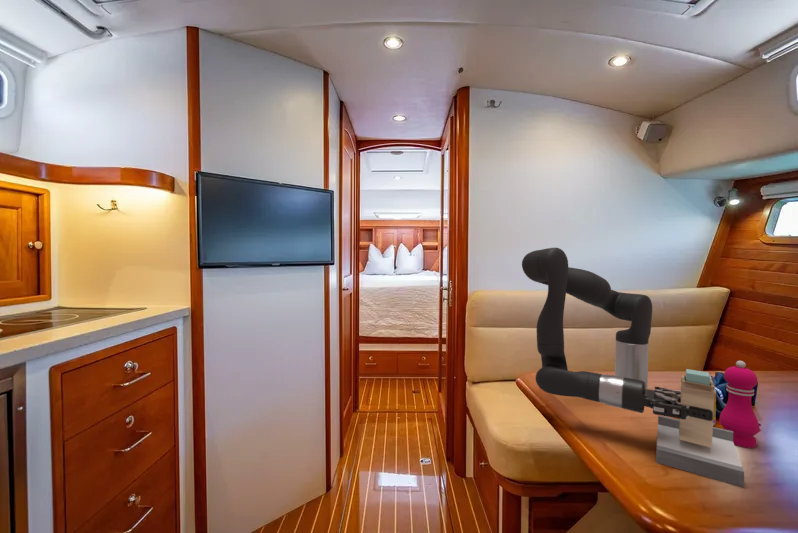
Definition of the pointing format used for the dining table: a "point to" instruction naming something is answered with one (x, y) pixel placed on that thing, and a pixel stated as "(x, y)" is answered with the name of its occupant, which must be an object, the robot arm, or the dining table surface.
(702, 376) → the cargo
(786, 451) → the dining table surface
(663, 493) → the dining table surface
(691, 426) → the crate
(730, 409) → the pepper mill
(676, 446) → the dock
